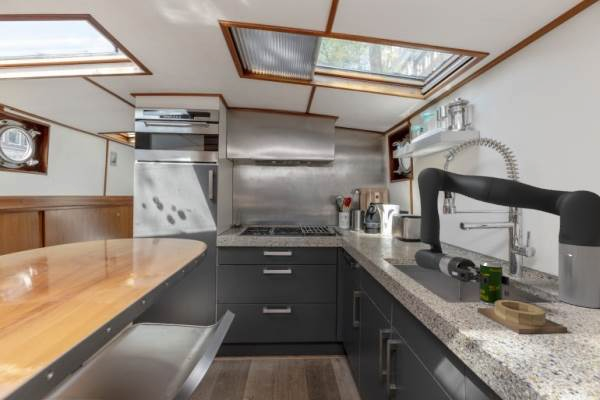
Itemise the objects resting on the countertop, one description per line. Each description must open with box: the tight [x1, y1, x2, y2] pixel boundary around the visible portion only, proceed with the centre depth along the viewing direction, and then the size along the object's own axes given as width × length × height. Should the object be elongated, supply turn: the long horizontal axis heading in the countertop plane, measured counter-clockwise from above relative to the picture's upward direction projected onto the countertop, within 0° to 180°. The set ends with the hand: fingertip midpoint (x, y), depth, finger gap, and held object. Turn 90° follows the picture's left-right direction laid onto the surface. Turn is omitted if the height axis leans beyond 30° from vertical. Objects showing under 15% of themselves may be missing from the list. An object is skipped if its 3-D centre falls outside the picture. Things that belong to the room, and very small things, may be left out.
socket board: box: [477, 299, 568, 334], centre depth 67 cm, size 12×12×4 cm
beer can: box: [479, 259, 503, 307], centre depth 79 cm, size 5×5×12 cm
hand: (498, 281), depth 77 cm, fingers closed on beer can, 5 cm apart
